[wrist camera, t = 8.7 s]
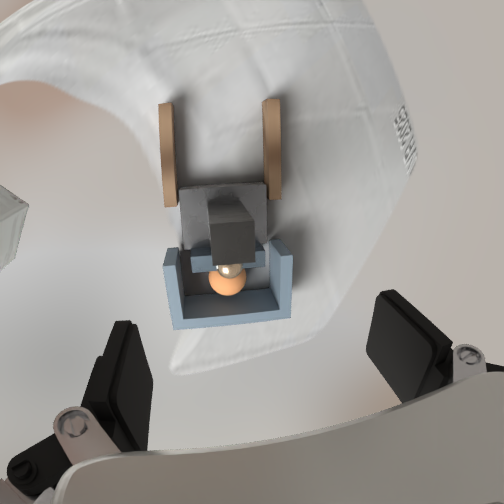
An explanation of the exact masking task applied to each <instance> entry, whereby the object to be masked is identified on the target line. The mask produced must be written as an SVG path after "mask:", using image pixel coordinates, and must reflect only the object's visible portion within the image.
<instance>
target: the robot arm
mask: <svg viewBox="0 0 504 504" xmlns="http://www.w3.org/2000/svg"><path fill="white" fill-rule="evenodd" d="M452 343H453V342H452V341H451V340H450V339H449V338H448V337H447V336H446V335H445V334H444V333H443V332H441V331H440V330H439V329H438V328H437V327H436V326H435V325H434V324H433V323H432V322H431V321H430V320H428V319H427V318H426V317H425V316H424V315H423V314H422V313H420V312H419V311H418V310H417V309H416V308H415V307H414V306H413V305H412V304H411V303H409V302H408V301H407V300H406V299H405V298H404V297H402V296H401V295H400V294H399V293H398V292H397V291H396V290H394V289H392V290H387V291H382V292H380V294H379V295H378V296H377V297H376V301H375V307H374V312H373V317H372V323H371V327H370V332H369V336H368V341H367V345H366V352H367V355H368V356H369V358H370V359H371V360H372V362H373V363H374V365H375V366H376V367H377V369H378V370H379V371H380V373H381V374H382V375H383V377H384V378H385V380H386V381H387V383H388V384H389V385H390V387H391V388H392V389H393V391H394V392H395V394H396V395H397V397H398V398H399V399H400V401H401V402H402V404H400V405H397V406H394V407H392V408H389V409H386V410H383V411H380V412H378V413H374V414H371V415H368V416H365V417H362V418H358V419H355V420H352V421H348V422H345V423H341V424H338V425H334V426H330V427H326V428H322V429H318V430H314V431H310V432H305V433H301V434H296V435H291V436H286V437H280V438H275V439H269V440H263V441H257V442H250V443H244V444H235V445H227V446H217V447H207V448H193V449H179V450H178V449H177V450H154V451H147V445H148V433H149V421H150V410H151V399H152V391H153V378H152V375H151V371H150V368H149V365H148V362H147V359H146V355H145V352H144V348H143V345H142V341H141V338H140V334H139V331H138V327H137V325H136V324H132V323H131V321H130V320H128V321H127V320H126V321H116V322H115V323H114V326H113V329H112V331H111V334H110V337H109V339H108V342H107V345H106V348H105V350H104V353H103V356H99V357H98V358H97V359H96V362H95V364H94V368H93V370H92V373H91V376H90V379H89V382H88V385H87V388H86V391H85V394H84V397H83V400H82V404H81V406H80V407H78V406H75V407H69V408H66V409H64V410H63V411H61V412H60V413H59V414H58V415H57V416H56V418H55V420H54V423H53V429H54V434H52V435H51V436H49V437H47V438H46V439H44V440H42V441H41V442H39V443H37V444H35V445H34V446H32V447H30V448H28V449H27V450H25V451H23V452H21V453H20V454H18V455H16V456H15V457H14V458H12V459H11V461H10V462H9V464H8V467H7V476H8V478H7V479H6V480H5V481H4V480H3V479H0V504H504V366H499V365H494V364H490V363H486V362H485V357H484V354H483V353H482V352H481V351H480V350H479V349H478V348H476V347H474V346H472V345H469V344H462V345H458V346H456V347H455V349H454V350H452V349H451V346H452Z"/></svg>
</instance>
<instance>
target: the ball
mask: <svg viewBox="0 0 504 504" xmlns="http://www.w3.org/2000/svg"><path fill="white" fill-rule="evenodd" d="M209 282H210V285H211V287H212V288H213V289H214V290H215V291H216V292H217V293H219V294H221V295H226V296H229V295H234V294H236V293H238V292H239V291H240V290H241V289H242V288H243V287H244V285H245V282H246V271H245V269H244V268H243V269H242V271H241V273H240V274H239V275H238V276H237V277H235V278H232V279H227V278H224V277H222V276H221V275H220V274H219V273H218V271H209Z"/></svg>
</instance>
